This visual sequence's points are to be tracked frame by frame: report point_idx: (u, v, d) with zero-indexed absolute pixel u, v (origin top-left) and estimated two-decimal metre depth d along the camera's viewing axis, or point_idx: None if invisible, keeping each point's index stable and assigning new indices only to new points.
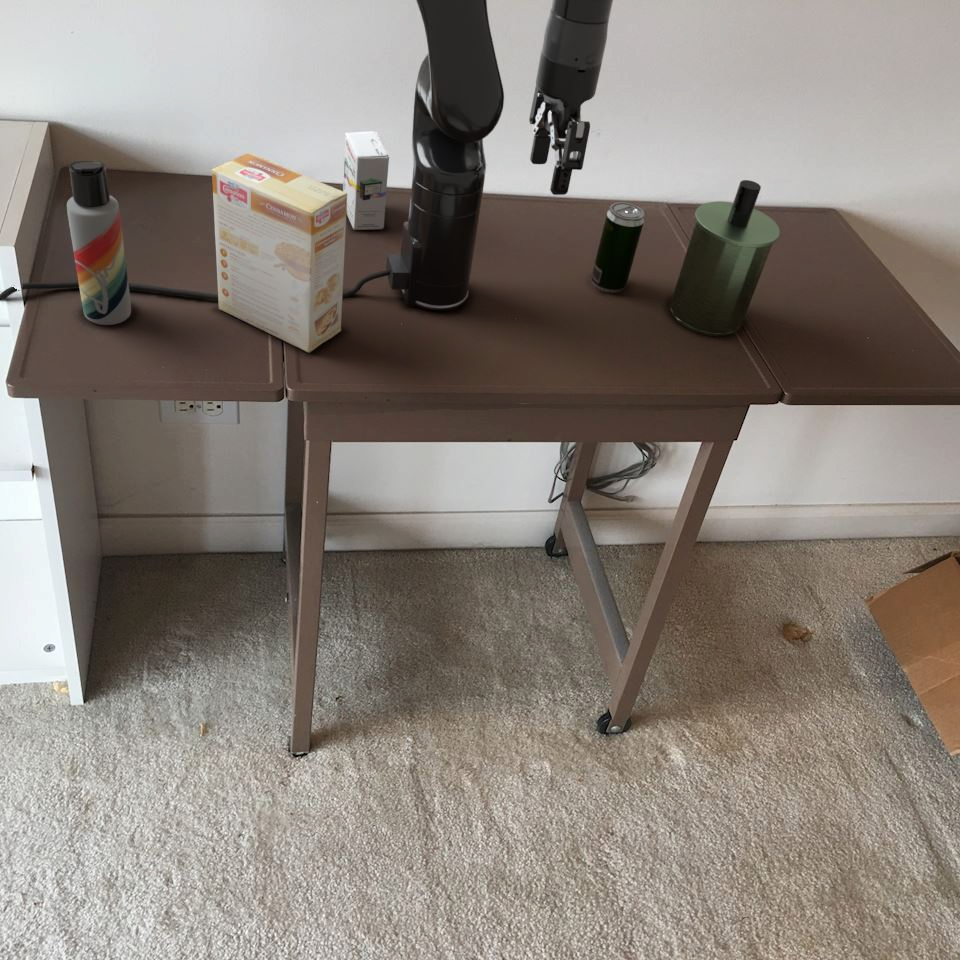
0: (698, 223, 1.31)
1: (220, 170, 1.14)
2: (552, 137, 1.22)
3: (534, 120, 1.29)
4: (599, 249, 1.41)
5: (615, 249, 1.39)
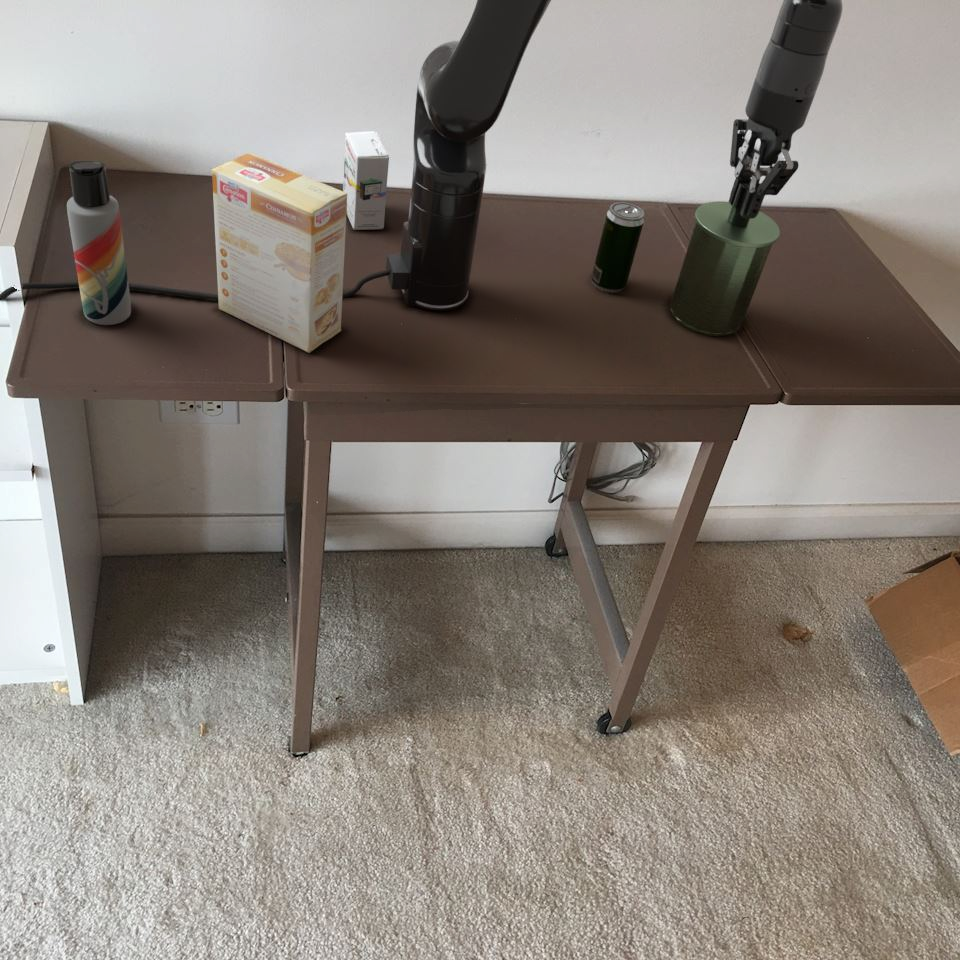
0: (698, 223, 1.31)
1: (220, 170, 1.14)
2: (754, 164, 1.25)
3: (736, 163, 1.30)
4: (599, 249, 1.41)
5: (615, 249, 1.39)
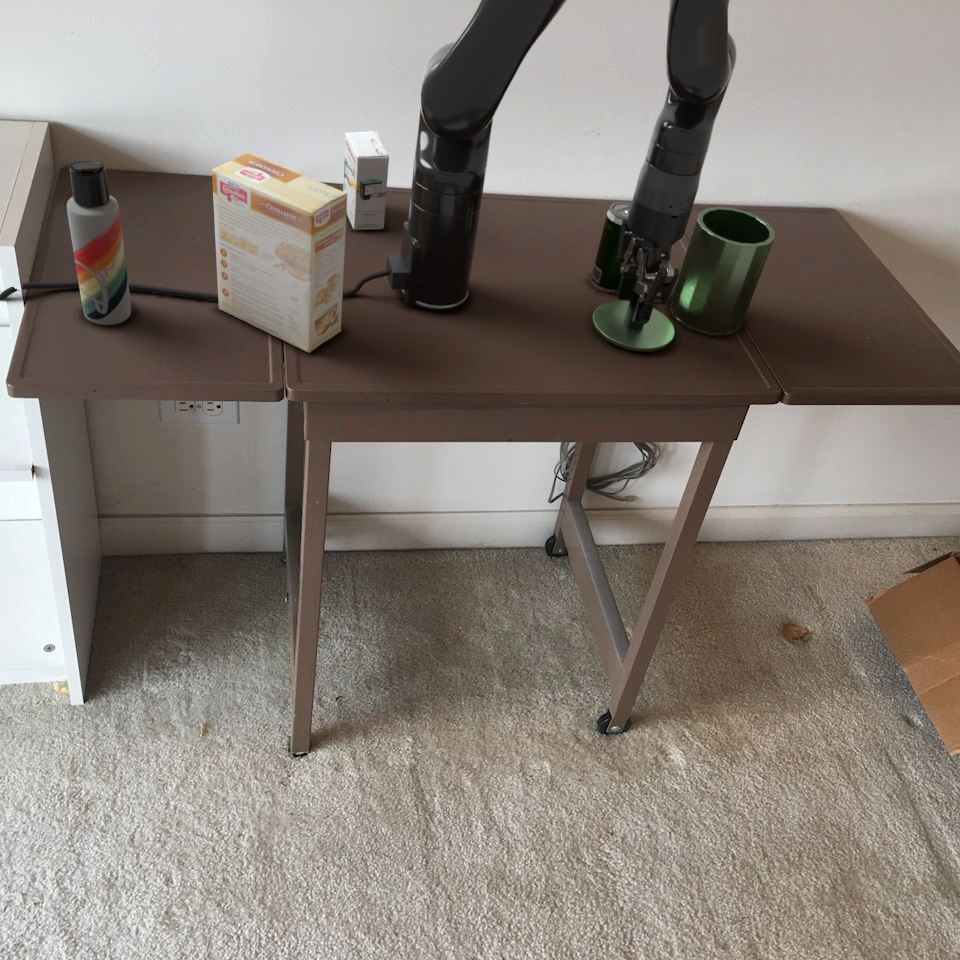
0: (594, 326, 1.35)
1: (220, 170, 1.14)
2: (639, 273, 1.27)
3: (622, 259, 1.34)
4: (599, 249, 1.41)
5: (615, 249, 1.39)
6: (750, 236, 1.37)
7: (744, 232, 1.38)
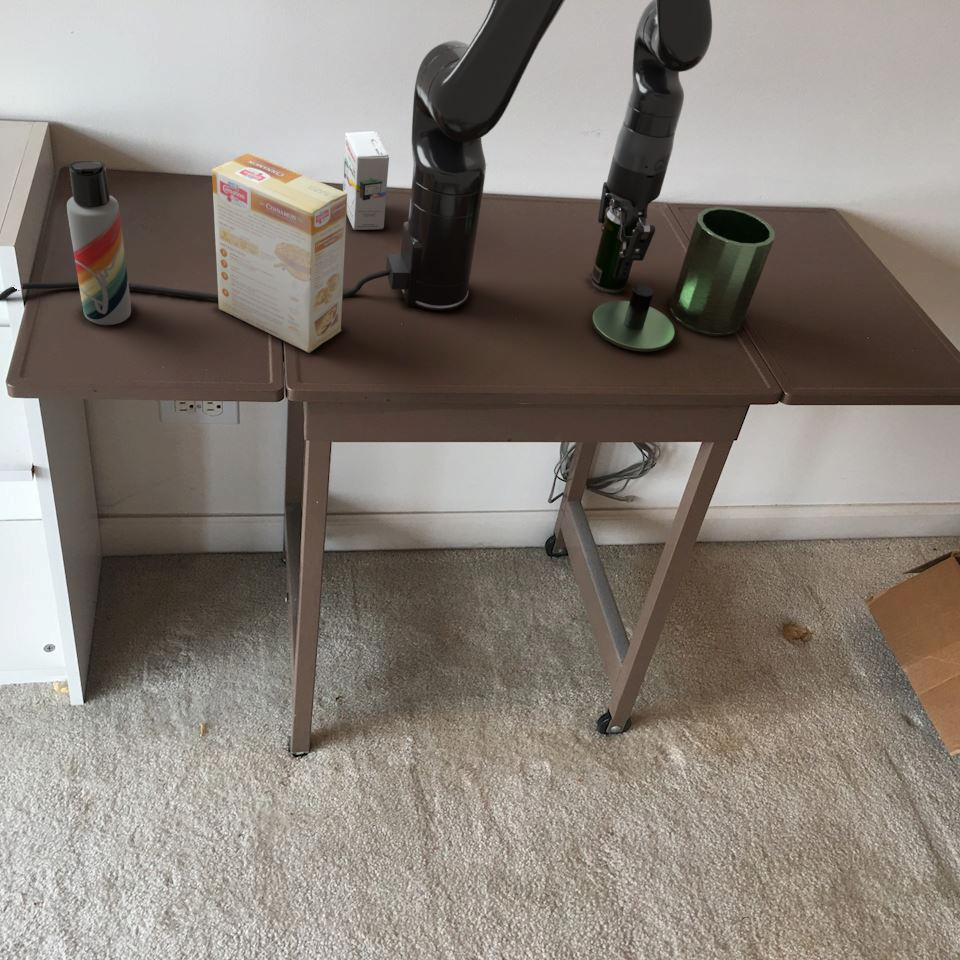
0: (594, 326, 1.35)
1: (220, 170, 1.14)
2: (618, 231, 1.37)
3: (603, 220, 1.43)
4: (599, 249, 1.41)
5: (615, 249, 1.39)
6: (750, 236, 1.37)
7: (744, 232, 1.38)
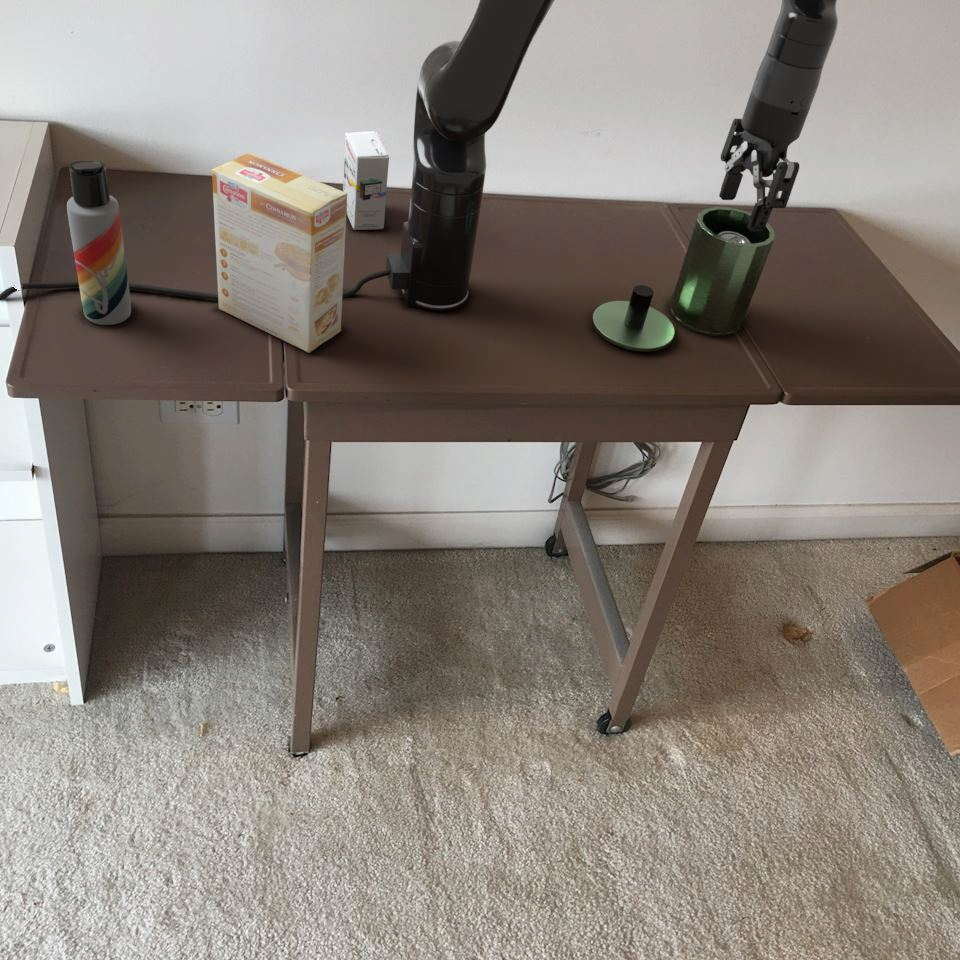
0: (594, 326, 1.35)
1: (220, 170, 1.14)
2: (755, 176, 1.25)
3: (727, 157, 1.32)
4: None
5: None
6: (750, 236, 1.37)
7: (744, 232, 1.38)
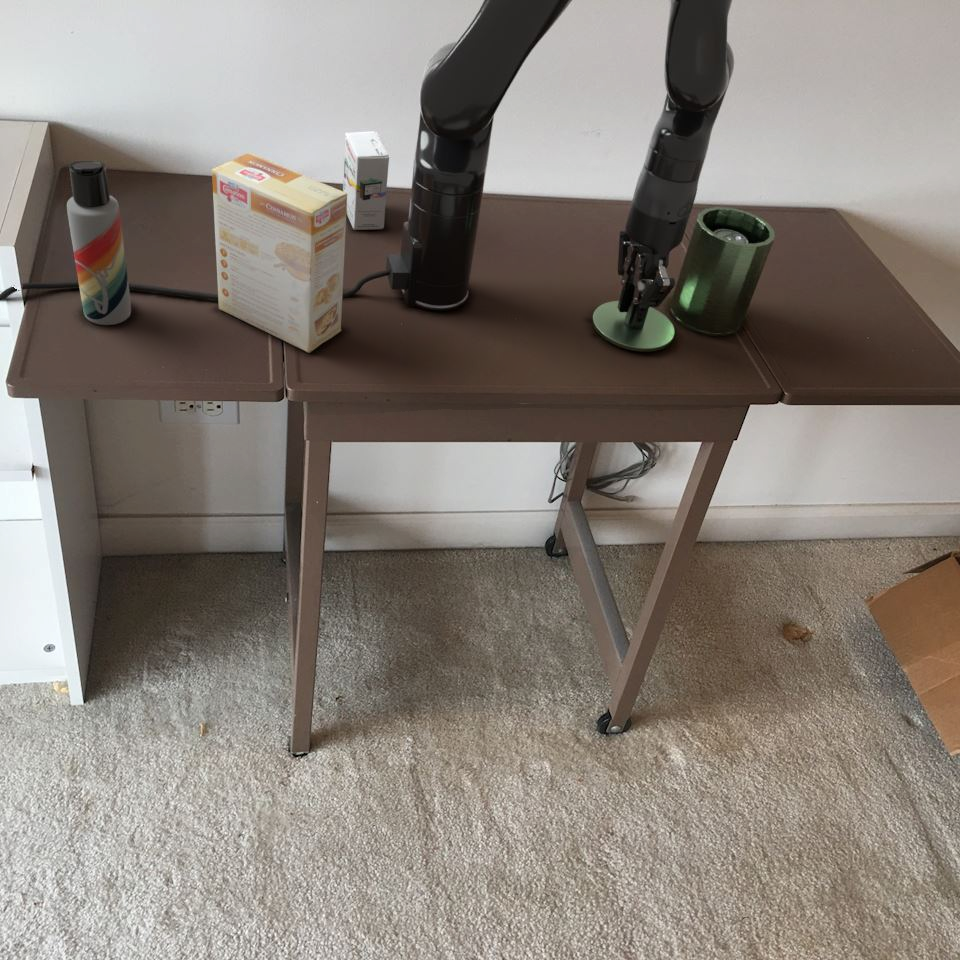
0: (594, 326, 1.35)
1: (220, 170, 1.14)
2: (635, 278, 1.28)
3: (623, 272, 1.34)
4: None
5: None
6: (750, 236, 1.37)
7: (744, 232, 1.38)
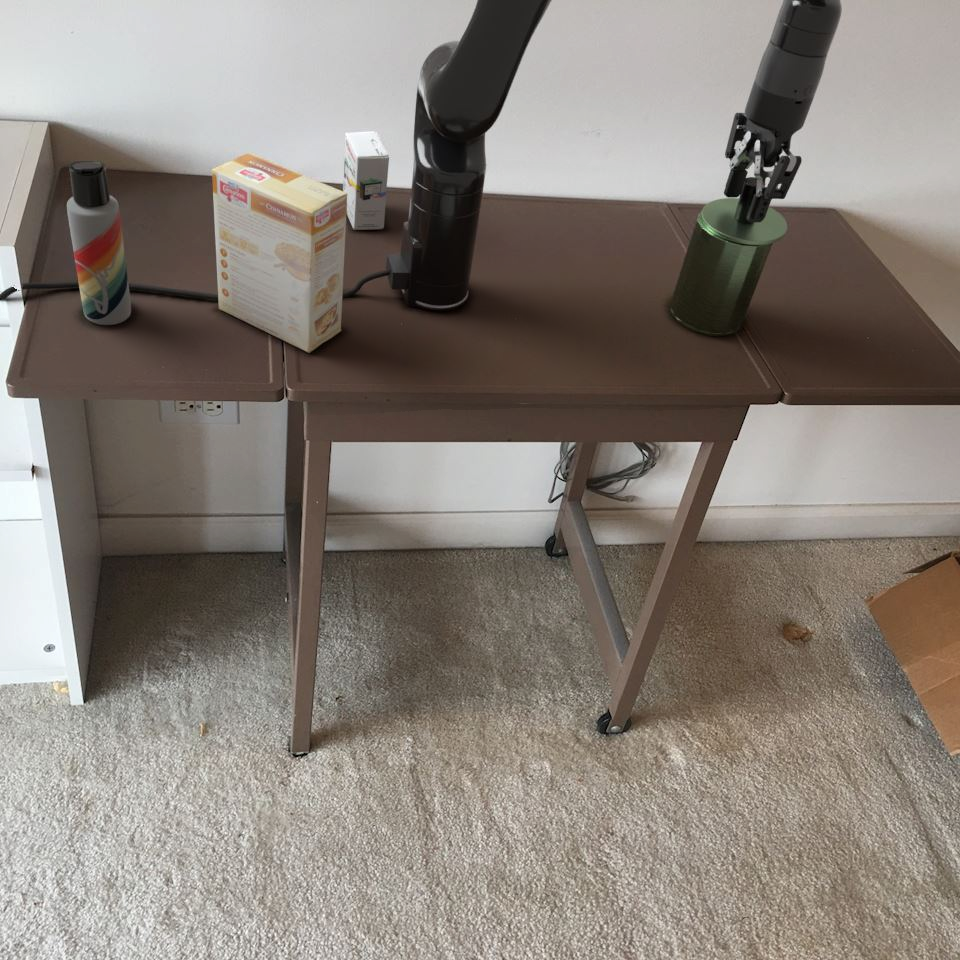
0: (704, 223, 1.31)
1: (220, 170, 1.14)
2: (757, 166, 1.24)
3: (731, 154, 1.31)
4: None
5: None
6: None
7: None
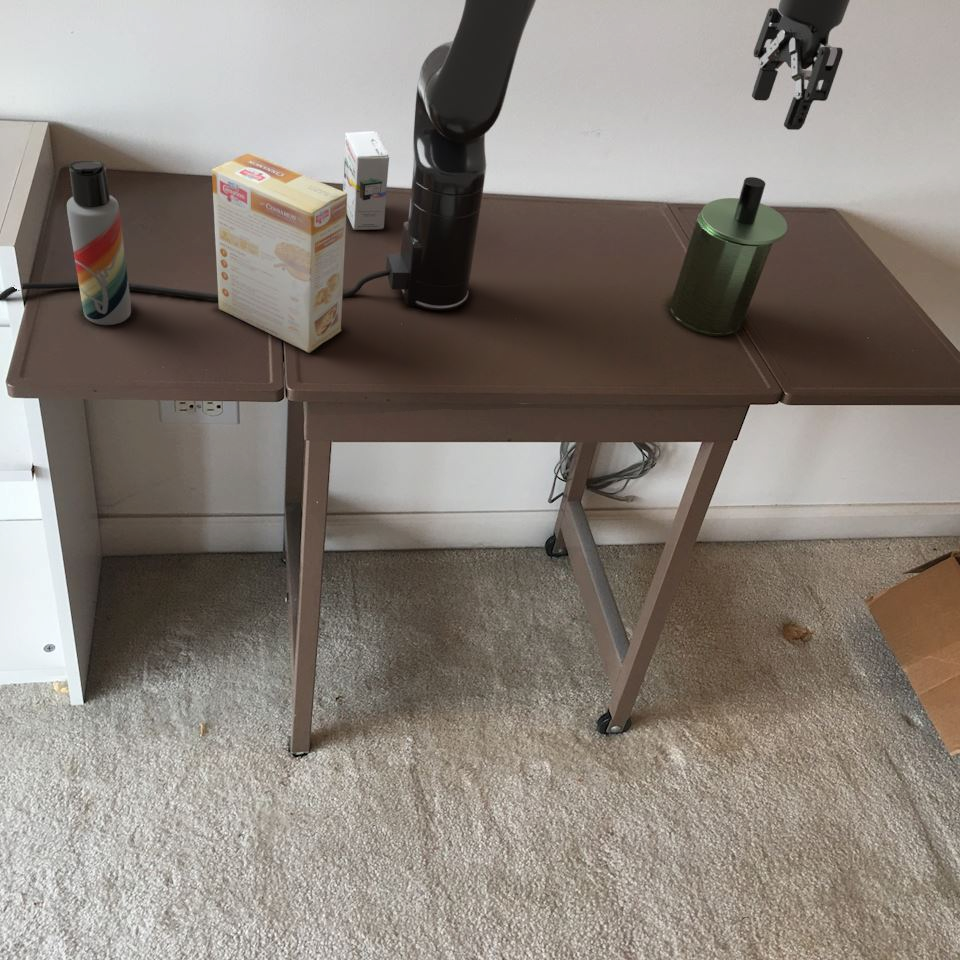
0: (704, 223, 1.31)
1: (220, 170, 1.14)
2: (794, 66, 1.15)
3: (760, 53, 1.23)
4: None
5: None
6: None
7: None
